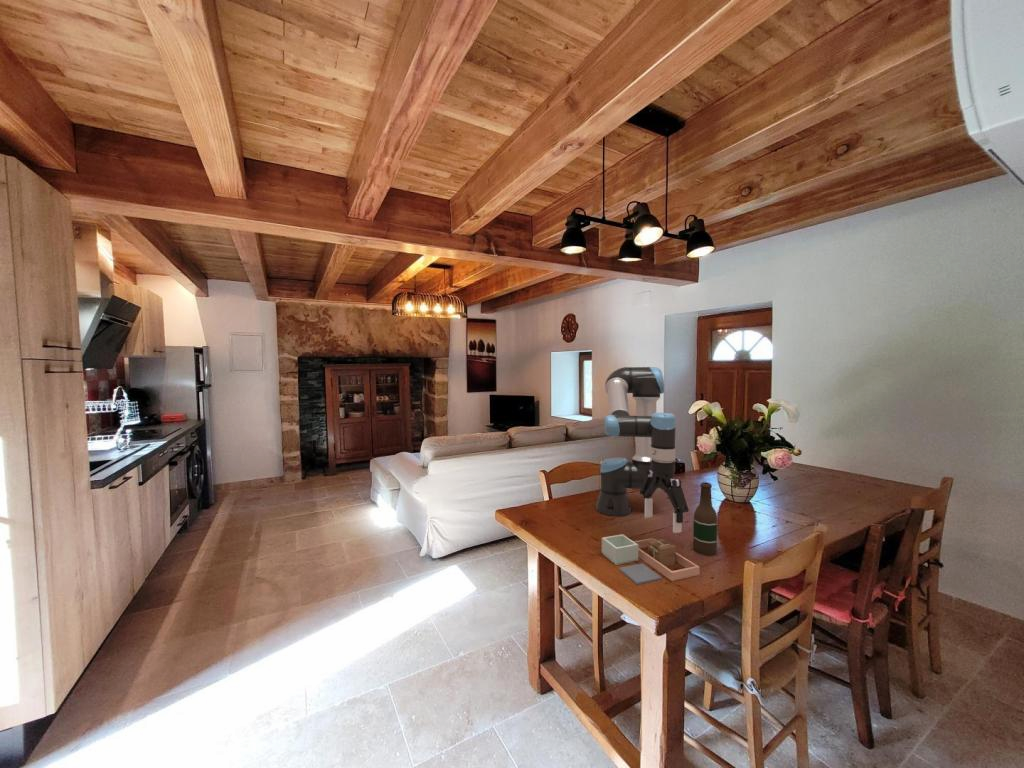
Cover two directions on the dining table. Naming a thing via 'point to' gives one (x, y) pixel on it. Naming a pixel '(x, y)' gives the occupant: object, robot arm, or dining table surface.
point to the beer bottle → (705, 523)
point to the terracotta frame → (672, 575)
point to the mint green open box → (619, 549)
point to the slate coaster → (640, 573)
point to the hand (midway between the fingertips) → (662, 524)
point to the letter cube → (662, 551)
